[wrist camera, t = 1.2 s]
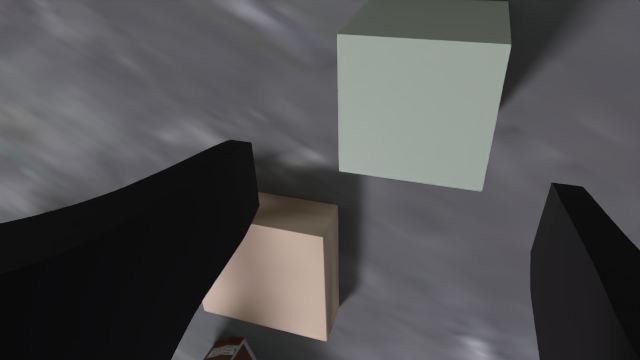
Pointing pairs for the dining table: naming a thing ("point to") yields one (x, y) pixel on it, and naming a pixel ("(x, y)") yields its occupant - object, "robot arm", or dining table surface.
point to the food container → (231, 350)
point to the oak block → (284, 269)
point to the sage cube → (422, 89)
